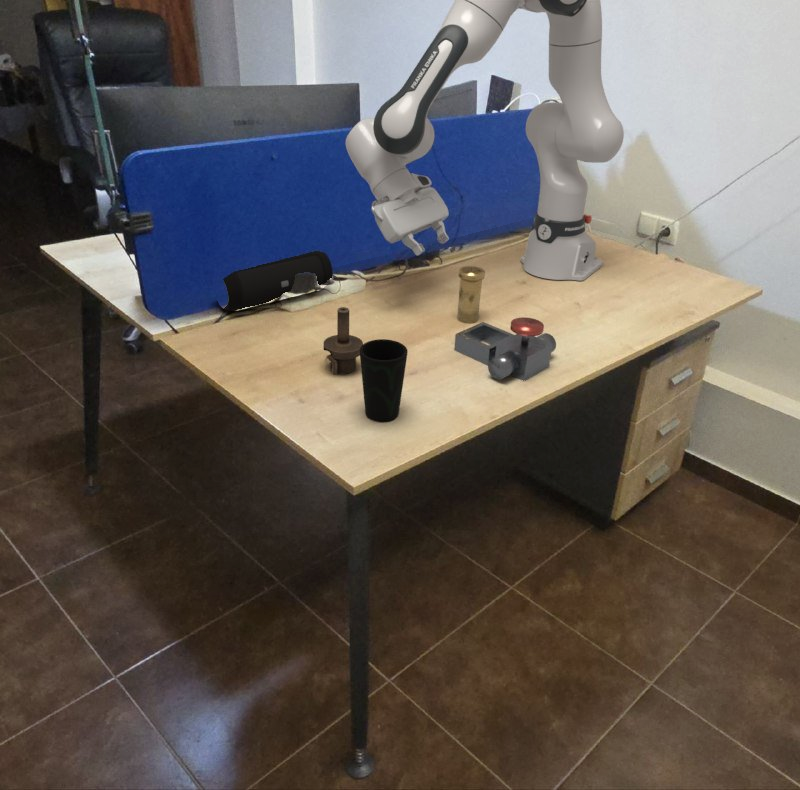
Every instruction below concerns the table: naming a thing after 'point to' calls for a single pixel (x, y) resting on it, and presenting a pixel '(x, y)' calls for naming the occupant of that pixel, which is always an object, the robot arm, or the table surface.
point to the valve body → (508, 348)
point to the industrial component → (343, 345)
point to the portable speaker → (273, 279)
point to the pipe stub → (469, 293)
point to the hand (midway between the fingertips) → (433, 247)
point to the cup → (382, 378)
